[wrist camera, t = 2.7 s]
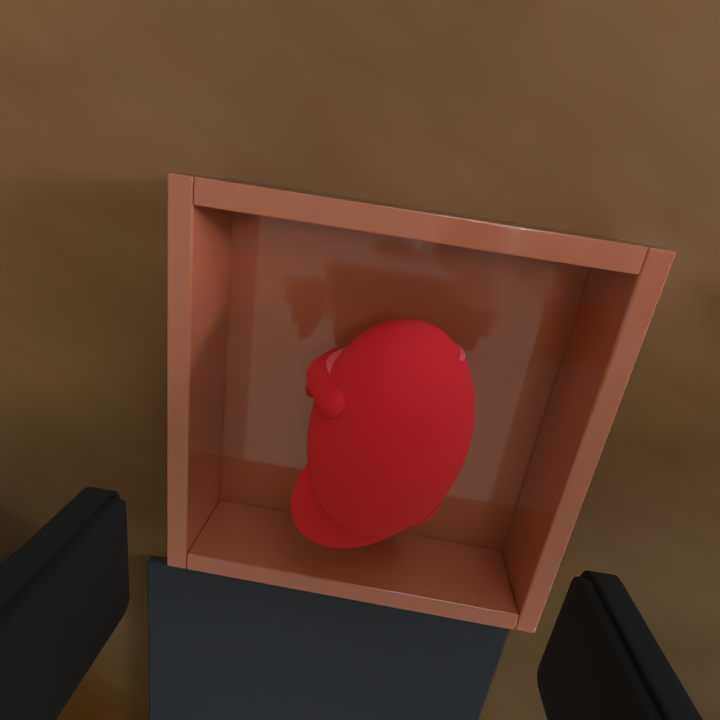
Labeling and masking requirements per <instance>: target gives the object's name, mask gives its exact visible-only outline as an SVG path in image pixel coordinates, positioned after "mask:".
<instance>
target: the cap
mask: <svg viewBox="0 0 720 720" xmlns="http://www.w3.org/2000/svg"><path fill="white" fill-rule="evenodd" d="M465 356H466V355H465V351H464V350H463V348H462V347H461V346H459V345H458V344H456V343H455V341H454V340H453V339H452V338H451V337H450V336H449V335H448V334H447V333H446V332H445V331H443V330H442V329H441V328H439V327H437V326H436V325H434V324H432V323H430V322H427V321H424V320H420V319H415V318H397V319H392V320H388V321H385V322H382V323H379V324H377V325H375V326H373V327H371V328H369V329H367V330H366V331H364V332H363V333H361V334H360V335H359V336H357V337H356V338H355V339H354V340H353V341H352V342H351V343H350V344H348V345H347V346H346V347H345V348H342V349H339V348H333V349H331V350H329V351H327V352H326V353H324V354H322V355H321V356H319V357H318V358H316V359H315V360H314V361H313V362H312V363H311V364H310V366H309V367H308V370H307V374H306V381H307V385H306V389H305V391H306V394H307V396H309V397H311V398H312V397H313V398H314V400H315V401H314V404H313V408H312V412H311V416H310V421H309V427H308V436H307V459H308V464H307V465H306V466H305V468H304V469H303V470H302V472H301V473H300V475H299V477H298V479H297V481H296V483H295V485H294V488H293V491H292V495H291V503H290V508H291V515H292V518H293V521H294V523H295V525H296V527H297V528H298V530H299V531H300V532H301V533H302V534H303V535H304V536H305V537H306V538H308V539H309V540H311V541H313V542H315V543H317V544H320V545H323V546H327V547H332V548H355V547H361V546H366V545H370V544H373V543H376V542H379V541H382V540H384V539H387V538H389V537H391V536H393V535H395V534H396V533H398V532H400V531H402V530H404V529H406V528H408V527H410V526H418V525H420V524H422V523H424V522H425V521H427V520H429V519H430V518H432V517H433V516H434V515H435V514H436V513H437V512H438V510H439V509H440V507H441V504H442V500H443V498H444V497H445V496H446V494H447V493H448V492H449V490H450V489H451V487H452V486H453V484H454V482H455V481H456V479H457V477H458V475H459V473H460V471H461V469H462V467H463V465H464V462H465V460H466V457H467V454H468V451H469V447H470V444H471V440H472V435H473V429H474V422H475V393H474V385H473V380H472V376H471V372H470V369H469V366H468V364H467V362H466V359H465Z"/></svg>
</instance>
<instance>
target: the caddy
mask: <svg viewBox="0 0 720 720" xmlns="http://www.w3.org/2000/svg"><path fill="white" fill-rule="evenodd" d="M675 255H676V252H675V251H673V250H669V249H664V248H659V247H654V246H649V245H644V244H639V243H634V242H629V241H624V240H619V239H614V238H607V237H601V236H594V235H588V234H581V233H575V232H568V231H562V230H555V229H549V228H542V227H536V226H529V225H523V224H516V223H510V222H503V221H497V220H491V219H484V218H478V217H471V216H465V215H458V214H452V213H445V212H439V211H432V210H426V209H419V208H413V207H406V206H400V205H393V204H387V203H380V202H374V201H367V200H361V199H354V198H348V197H341V196H335V195H329V194H322V193H316V192H309V191H303V190H296V189H290V188H283V187H277V186H270V185H264V184H257V183H251V182H244V181H238V180H231V179H225V178H218V177H208V176H198V175H188V174H178V173H168V227H167V565H168V566H172V567H178V568H183V569H186V567H187V569H189V570H194V571H199V572H205V573H210V574H216V575H221V576H226V577H232V578H237V579H242V580H248V581H253V582H259V583H264V584H269V585H275V586H280V587H285V588H291V589H296V590H302V591H307V592H312V593H318V594H323V595H328V596H334V597H339V598H345V599H350V600H355V601H361V602H366V603H371V604H377V605H382V606H388V607H393V608H398V609H404V610H409V611H414V612H420V613H425V614H431V615H436V616H441V617H447V618H452V619H457V620H463V621H468V622H474V623H479V624H484V625H490V626H495V627H500V628H506V629H511V630H514V628H515V629H516V630H518V631H523V632H529V633H535V631H536V628H537V626H538V623H539V620H540V618H541V615H542V612H543V610H544V607H545V604H546V602H547V599H548V596H549V594H550V591H551V588H552V585H553V583H554V580H555V577H556V575H557V572H558V569H559V567H560V564H561V561H562V559H563V556H564V553H565V550H566V548H567V545H568V542H569V540H570V537H571V534H572V532H573V529H574V526H575V524H576V521H577V518H578V516H579V513H580V510H581V507H582V505H583V502H584V499H585V497H586V494H587V491H588V489H589V486H590V483H591V481H592V478H593V475H594V473H595V470H596V467H597V464H598V462H599V459H600V456H601V454H602V451H603V448H604V446H605V443H606V440H607V438H608V435H609V432H610V429H611V427H612V424H613V421H614V419H615V416H616V413H617V411H618V408H619V405H620V403H621V400H622V397H623V395H624V392H625V389H626V386H627V384H628V381H629V378H630V376H631V373H632V370H633V368H634V365H635V362H636V360H637V357H638V354H639V351H640V349H641V346H642V343H643V341H644V338H645V335H646V333H647V330H648V327H649V325H650V322H651V319H652V317H653V314H654V311H655V308H656V306H657V303H658V300H659V298H660V295H661V292H662V290H663V287H664V284H665V282H666V279H667V276H668V274H669V271H670V268H671V265H672V263H673V260H674V257H675ZM397 318H415V319H420V320H424V321H427V322H430V323H432V324H434V325H436V326H437V327H439V328H441V329H442V330H443V331H445V332H446V333H447V334H448V335H449V336H450V337H451V338H452V339H453V340H454V341H455V343H456V344H458V345H459V346H461V347H462V348H463V350H464V351H465V355H466V356H465V359H466V362H467V364H468V366H469V369H470V372H471V376H472V380H473V385H474V393H475V422H474V429H473V435H472V440H471V444H470V447H469V451H468V454H467V457H466V460H465V462H464V465H463V467H462V469H461V471H460V473H459V475H458V477H457V479H456V481H455V482H454V484H453V486H452V487H451V489H450V490H449V492H448V493H447V494H446V496H445V497H444V498H443V500H442V504H441V507H440V509H439V510H438V512H437V513H436V514H435V515H434V516H433V517H432V518H430V519H429V520H427V521H425V522H424V523H422V524H420V525H418V526H410V527H408V528H406V529H404V530H402V531H400V532H398V533H396V534H395V535H393V536H391V537H389V538H387V539H384V540H382V541H379V542H376V543H373V544H370V545H366V546H361V547H355V548H332V547H327V546H323V545H320V544H317V543H315V542H313V541H311V540H309V539H308V538H306V537H305V536H304V535H303V534H302V533H301V532H300V531H299V530H298V528H297V527H296V525H295V523H294V521H293V518H292V515H291V508H290V503H291V495H292V491H293V488H294V485H295V483H296V481H297V479H298V477H299V475H300V473H301V472H302V470H303V469H304V468H305V466H306V465H307V464H308V459H307V436H308V427H309V421H310V416H311V412H312V408H313V404H314V401H315V400H314V398H313V397H312V398H311V397H309V396H307V394H306V391H305V389H306V385H307V381H306V374H307V370H308V367H309V366H310V364H311V363H312V362H313V361H314V360H315V359H316V358H318V357H319V356H321V355H322V354H324V353H326V352H327V351H329V350H331V349H333V348H339V349H342V348H345V347H346V346H347V345H348V344H350V343H351V342H352V341H353V340H354V339H355V338H356V337H357V336H359V335H360V334H361V333H363V332H364V331H366V330H367V329H369V328H371V327H373V326H375V325H377V324H379V323H382V322H385V321H388V320H392V319H397Z"/></svg>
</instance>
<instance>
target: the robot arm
mask: <svg viewBox="0 0 720 720" xmlns="http://www.w3.org/2000/svg"><path fill="white" fill-rule="evenodd" d="M128 602H129V573H128V544H127V514H126V502H125V501H124V500H120V497H119V494H118V492H116V491H111V490H105V489H99V488H93V487H87V488H85V489H84V490H82V491H81V492H80V493H79V494H78V495H77V496H76V497H75V498H74V499H73V500H71V501H70V502H69V503H68V504H67V505H66V506H65V507H64V508H63V509H62V510H61V511H60V512H59V513H58V514H57V515H55V516H54V517H53V518H52V519H51V520H50V521H49V522H48V523H47V524H46V525H45V526H44V527H43V528H42V529H41V530H40V531H38V532H37V533H36V534H35V535H34V536H33V537H32V538H31V539H30V540H29V541H28V542H27V543H26V544H25V545H24V546H22V547H21V548H20V549H19V550H17V551H16V552H14V553H13V554H12V555H10V556H9V557H8V558H7V559H6V560H5V561H4V562H3V563H2V564H1V565H0V720H56V719H57V717H58V716H59V714H60V713H61V711H62V710H63V708H64V707H65V705H66V703H67V702H68V700H69V699H70V697H71V696H72V694H73V693H74V691H75V690H76V688H77V687H78V685H79V683H80V682H81V680H82V679H83V677H84V676H85V674H86V673H87V671H88V670H89V668H90V666H91V665H92V663H93V662H94V660H95V659H96V657H97V656H98V654H99V653H100V651H101V649H102V648H103V646H104V645H105V643H106V642H107V640H108V639H109V637H110V636H111V634H112V633H113V631H114V629H115V628H116V626H117V625H118V623H119V622H120V620H121V619H122V617H123V615H124V613H125V611H126V609H127V606H128ZM537 681H538V688H539V692H540V695H541V699H542V702H543V706H544V709H545V712H546V716H547V719H548V720H702V718H701V716H700V715H699V713H698V711H697V710H696V708H695V706H694V705H693V703H692V701H691V699H690V698H689V696H688V694H687V693H686V691H685V689H684V687H683V686H682V684H681V682H680V681H679V679H678V677H677V676H676V674H675V672H674V670H673V669H672V667H671V666H670V664H669V662H668V660H667V659H666V657H665V655H664V654H663V652H662V650H661V649H660V647H659V645H658V643H657V642H656V640H655V638H654V637H653V635H652V633H651V631H650V630H649V628H648V626H647V625H646V623H645V621H644V620H643V618H642V616H641V614H640V613H639V611H638V609H637V608H636V606H635V604H634V602H633V601H632V599H631V597H630V596H629V594H628V592H627V591H626V589H625V587H624V585H623V584H622V582H621V581H620V579H619V578H618V577H617V576H615V575H611V574H605V573H599V572H593V571H584V572H583V573H582V574H581V576H580V577H574V578H573V580H572V582H571V584H570V587H569V590H568V592H567V595H566V597H565V600H564V603H563V605H562V608H561V610H560V613H559V615H558V618H557V621H556V623H555V626H554V628H553V631H552V634H551V636H550V639H549V641H548V644H547V646H546V649H545V652H544V654H543V657H542V659H541V662H540V665H539V668H538V673H537Z"/></svg>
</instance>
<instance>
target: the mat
mask: <svg viewBox="0 0 720 720" xmlns="http://www.w3.org/2000/svg"><path fill="white" fill-rule="evenodd" d="M148 606H149V665H150V720H478V718H479V715H480V713H481V710H482V707H483V704H484V701H485V698H486V695H487V692H488V689H489V686H490V684H491V681H492V678H493V675H494V672H495V669H496V666H497V663H498V660H499V657H500V655H501V652H502V649H503V646H504V643H505V640H506V637H507V634H508V631H509V629H506V628H500V627H495V626H490V625H484V624H479V623H474V622H468V621H463V620H457V619H452V618H447V617H441V616H436V615H431V614H425V613H420V612H414V611H409V610H404V609H398V608H393V607H388V606H382V605H377V604H371V603H366V602H361V601H355V600H350V599H345V598H339V597H334V596H328V595H323V594H318V593H312V592H307V591H302V590H296V589H291V588H285V587H280V586H275V585H269V584H264V583H259V582H253V581H248V580H242V579H237V578H232V577H226V576H221V575H216V574H210V573H205V572H199V571H194V570H189V569H187V567H186V569H183V568H178V567H172V566H168V565H167V559H164V558H158V557H153V556H152V557H151V558H150V559H149V561H148Z"/></svg>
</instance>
